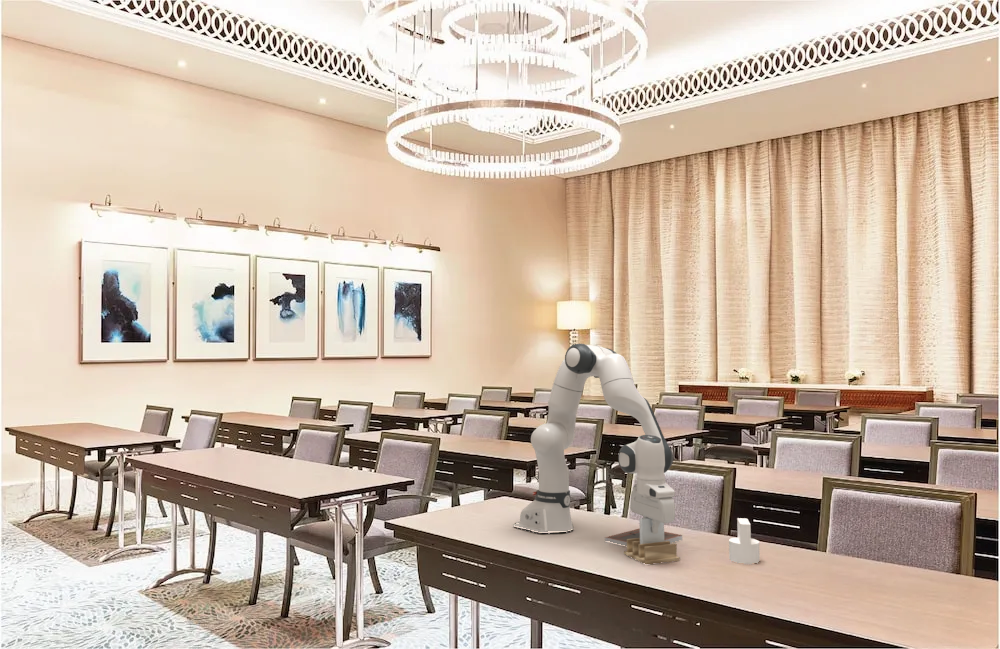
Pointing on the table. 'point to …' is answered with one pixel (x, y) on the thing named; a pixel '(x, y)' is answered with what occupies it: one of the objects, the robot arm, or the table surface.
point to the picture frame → (635, 533)
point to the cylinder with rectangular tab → (744, 544)
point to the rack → (651, 551)
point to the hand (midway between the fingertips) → (651, 532)
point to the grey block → (646, 531)
